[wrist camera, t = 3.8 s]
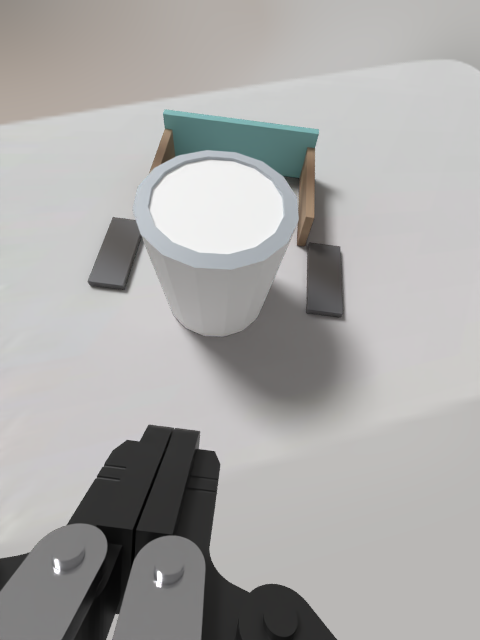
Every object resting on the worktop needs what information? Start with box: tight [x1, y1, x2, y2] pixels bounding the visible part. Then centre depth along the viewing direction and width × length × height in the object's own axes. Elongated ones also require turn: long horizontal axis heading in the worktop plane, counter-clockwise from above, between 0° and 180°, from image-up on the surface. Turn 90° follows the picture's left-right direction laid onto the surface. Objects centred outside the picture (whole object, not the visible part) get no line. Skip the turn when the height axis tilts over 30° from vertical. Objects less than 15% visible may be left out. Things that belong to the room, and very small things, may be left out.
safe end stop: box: [163, 110, 319, 178], centre depth 24 cm, size 1×10×4 cm, turn 83°
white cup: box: [133, 150, 299, 337], centre depth 17 cm, size 7×7×7 cm
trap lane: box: [88, 129, 343, 317], centre depth 22 cm, size 12×15×2 cm
